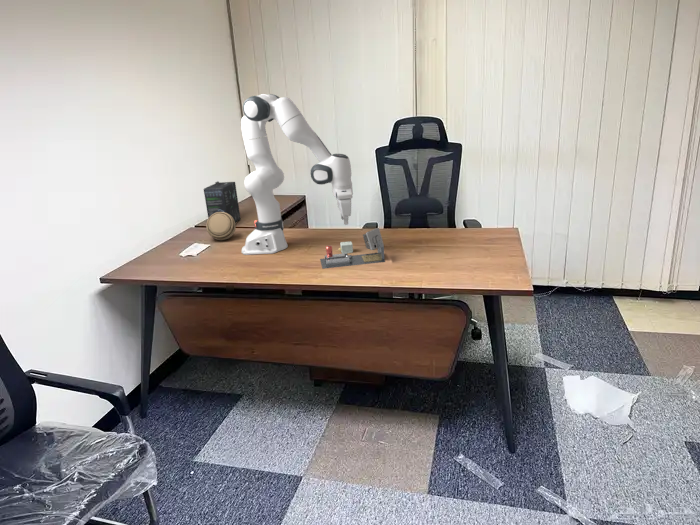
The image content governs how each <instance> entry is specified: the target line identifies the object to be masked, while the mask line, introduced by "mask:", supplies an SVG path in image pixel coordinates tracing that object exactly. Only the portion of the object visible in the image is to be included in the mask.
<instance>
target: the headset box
mask: <svg viewBox="0 0 700 525" xmlns="http://www.w3.org/2000/svg"><path fill="white" fill-rule="evenodd" d="M203 194H204V199H205V206H206V212H207V219H208V218H209V217H210V216H211V215H212V214H214V213H216V212H225V213H228V214H229V215H231V216H232V217H233V219H234V221H235V224H237V223H238V222H239V221H241V220H240V219H241V213H240V205H239V201H238V199H239V198H238V193H237V184H236V181H227V182H226V181H224V182H220V181H215V182H214V184H211V185H209V186H207V187H204V188H203ZM238 220H239V221H238ZM237 221H238V222H237ZM236 222H237V223H236Z"/></svg>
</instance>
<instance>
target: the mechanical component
mask: <svg viewBox="0 0 700 525" xmlns="http://www.w3.org/2000/svg"><path fill="white" fill-rule="evenodd" d="M236 224H237V223H235V221H234V219H233V217H232V216H231V215H229V214H228V213H225V212H216V213H214V214H212V215H211V216H210V217H209V218H208V217H207V220H206V225H205V227H206V231H207V233H208V235H209V236H210V237H211V238H213V239H214V240H217V241H226V240H229V239H230V238H231V237H232V236H233V235H234V233H235V232H236V226H237V225H236Z"/></svg>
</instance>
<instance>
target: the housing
mask: <svg viewBox="0 0 700 525" xmlns="http://www.w3.org/2000/svg"><path fill="white" fill-rule="evenodd" d="M339 243H340V244H339V245H340V247H338V251H341V254H343V253H347V254H353V253H354V248H353V247H354V246H353V242H352V241H341V242H339Z"/></svg>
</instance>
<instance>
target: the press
mask: <svg viewBox="0 0 700 525" xmlns="http://www.w3.org/2000/svg"><path fill="white" fill-rule="evenodd" d="M376 249H377V252H372V253H371V252H370V253H363V254H353V255H352V254H351V255H352V259H349V257H346V258H337V259H328V260H326V255H327V254H326V255H324V258H320V259H319V260H320V265H321V268H322V270H324V269H333V268H343V267H351V266H359V265H369V264H378V263H386V260H385V247H384V246H383V245H382V243H381V242H380V241H377V248H376ZM343 254H345V255H349V253H343ZM333 255H335V253H333Z"/></svg>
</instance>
